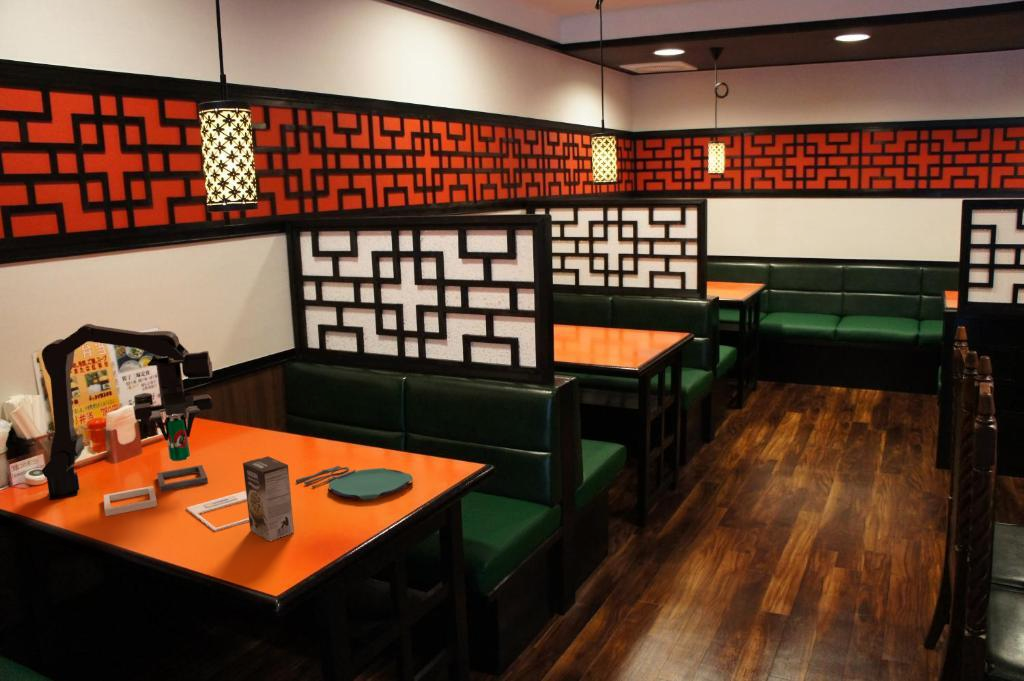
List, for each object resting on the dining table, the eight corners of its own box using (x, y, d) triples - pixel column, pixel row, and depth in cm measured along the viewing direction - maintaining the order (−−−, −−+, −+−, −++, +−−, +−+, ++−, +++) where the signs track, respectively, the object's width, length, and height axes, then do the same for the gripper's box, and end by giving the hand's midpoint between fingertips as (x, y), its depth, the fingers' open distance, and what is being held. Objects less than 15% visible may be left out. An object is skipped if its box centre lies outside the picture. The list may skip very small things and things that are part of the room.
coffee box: (248, 531, 184) (241, 462, 181) (275, 522, 189) (268, 454, 186) (269, 542, 178) (261, 471, 175) (295, 533, 182) (288, 463, 179)
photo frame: (244, 490, 208) (275, 510, 194) (245, 494, 208) (276, 514, 194) (186, 506, 198) (214, 528, 185) (186, 511, 199) (214, 533, 185)
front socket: (105, 516, 196) (104, 510, 196) (104, 500, 206) (103, 494, 206) (157, 506, 201) (156, 500, 201) (153, 491, 211) (153, 485, 211)
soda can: (193, 455, 219) (188, 411, 217) (184, 461, 214) (179, 417, 212) (175, 455, 220) (170, 412, 218) (166, 461, 215) (160, 417, 213)
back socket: (161, 491, 211) (160, 486, 211) (157, 478, 221) (156, 473, 221) (207, 482, 216) (207, 477, 216) (202, 470, 226) (201, 465, 226)
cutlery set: (369, 509, 194) (368, 500, 194) (288, 487, 212) (287, 478, 212) (426, 484, 210) (426, 475, 209) (347, 465, 228) (346, 457, 227)
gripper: (132, 392, 202) (140, 453, 205) (212, 381, 210) (219, 440, 213) (130, 383, 212) (138, 441, 215) (206, 373, 220) (213, 429, 223)
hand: (177, 438), depth 216 cm, fingers closed on soda can, 5 cm apart
